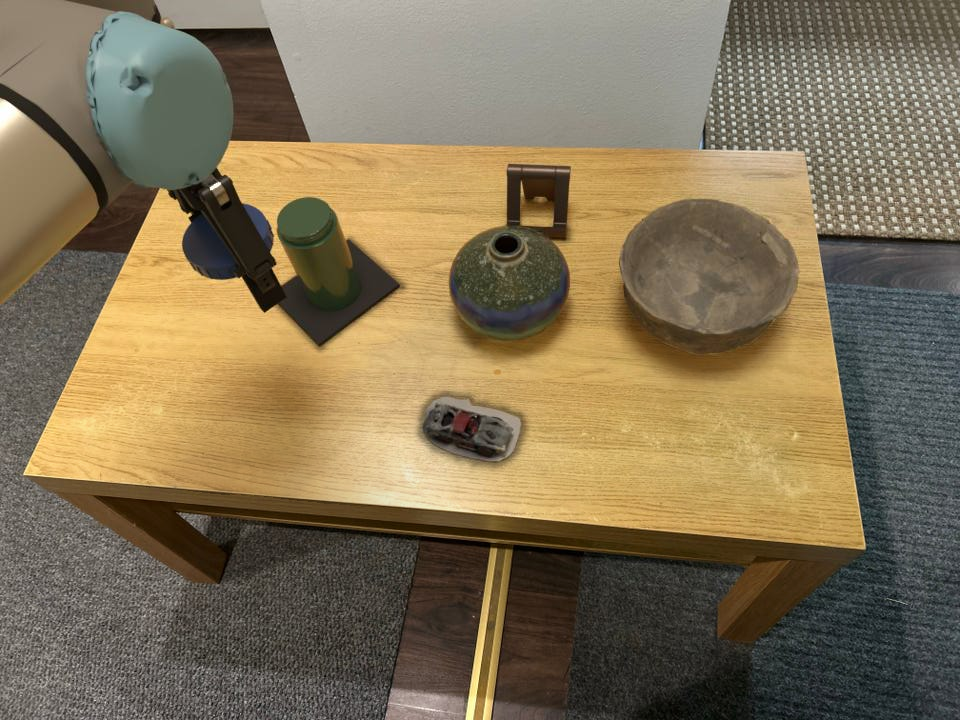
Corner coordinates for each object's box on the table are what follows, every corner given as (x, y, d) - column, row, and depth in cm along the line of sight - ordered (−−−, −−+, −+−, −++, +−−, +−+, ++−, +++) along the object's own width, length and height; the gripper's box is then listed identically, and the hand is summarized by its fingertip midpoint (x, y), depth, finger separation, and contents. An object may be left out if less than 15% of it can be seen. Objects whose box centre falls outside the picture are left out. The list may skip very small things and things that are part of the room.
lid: (289, 250, 65) (282, 237, 63) (210, 294, 63) (202, 282, 61) (251, 203, 69) (245, 189, 67) (176, 243, 67) (167, 230, 65)
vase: (454, 269, 97) (441, 201, 85) (563, 261, 96) (566, 191, 85) (454, 362, 89) (441, 300, 77) (574, 354, 88) (578, 291, 76)
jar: (328, 321, 93) (295, 250, 81) (297, 290, 96) (260, 217, 84) (372, 288, 95) (346, 215, 83) (340, 259, 99) (310, 184, 86)
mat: (319, 346, 92) (318, 344, 91) (270, 296, 97) (269, 294, 96) (400, 286, 96) (399, 283, 95) (349, 241, 101) (348, 238, 101)
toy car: (518, 464, 81) (517, 453, 78) (417, 457, 82) (413, 446, 79) (522, 400, 85) (522, 388, 82) (427, 395, 86) (423, 383, 84)
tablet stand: (504, 237, 99) (500, 195, 92) (510, 197, 103) (508, 154, 96) (565, 240, 98) (567, 198, 91) (569, 200, 102) (571, 156, 95)
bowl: (623, 241, 97) (630, 189, 88) (776, 258, 93) (799, 206, 85) (603, 364, 87) (609, 319, 78) (774, 390, 83) (800, 345, 74)
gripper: (256, 123, 47) (339, 315, 67) (121, 10, 56) (228, 207, 76) (161, 180, 45) (275, 362, 64) (35, 52, 54) (169, 245, 73)
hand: (250, 278), depth 70 cm, fingers closed on lid, 8 cm apart
